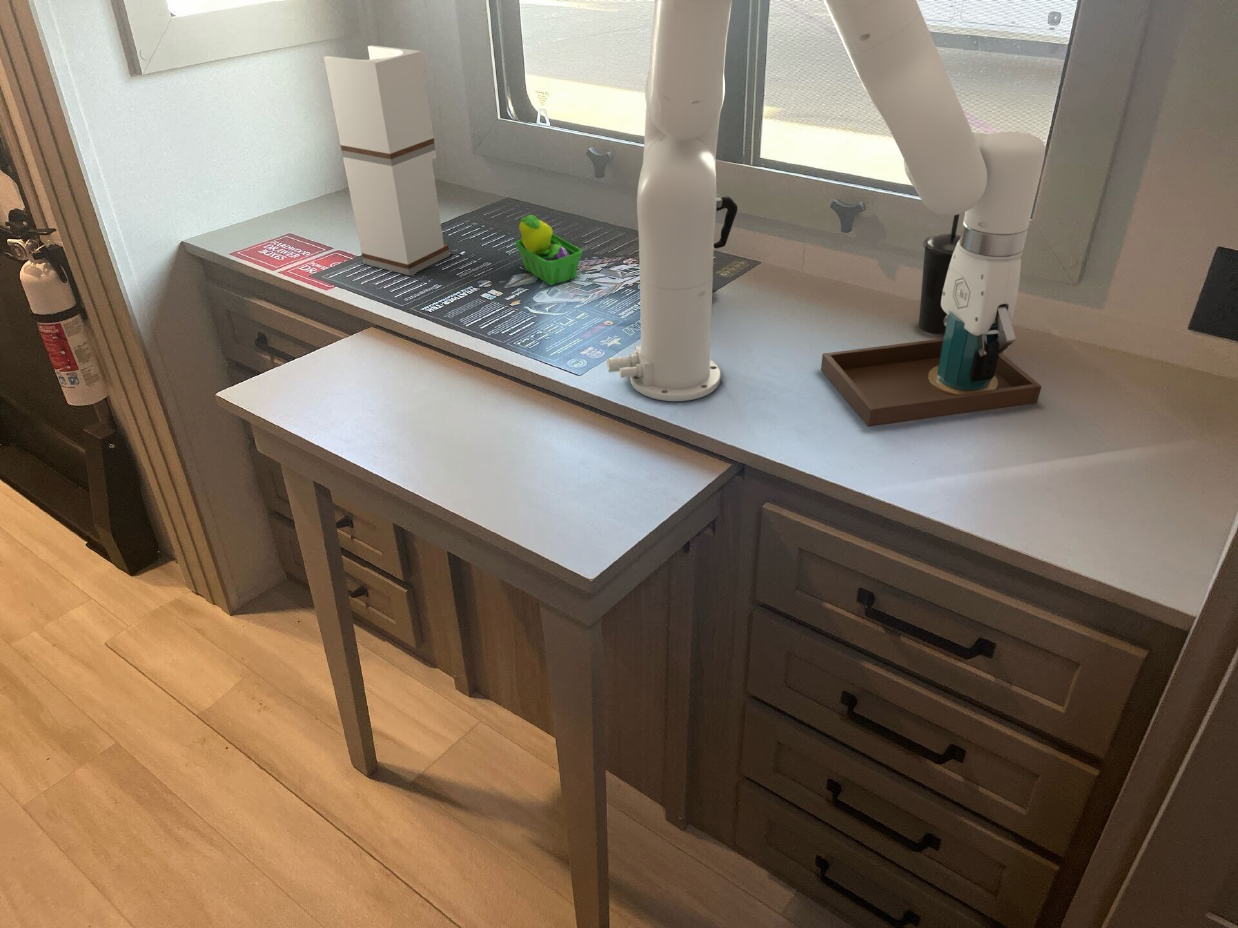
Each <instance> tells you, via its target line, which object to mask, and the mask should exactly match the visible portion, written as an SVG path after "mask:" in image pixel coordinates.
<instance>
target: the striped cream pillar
mask: <svg viewBox="0 0 1238 928" xmlns="http://www.w3.org/2000/svg"><path fill="white" fill-rule="evenodd" d="M367 50H368V51H367V52H368V56H369V57H368V58H369V59H358V58H357V59H356V58H348V57H341V56H340V57H339V56H332V55H325V56H323V61H324V66H325V71H326V76H327V81H328V87H329V92H330V98H331V102H332V103H331V104H332V108H333V114H334V119H335V124H336V128H337V134H338V138H339V144H340V150H341V155H342V159H343V164H344V170H345V174H346V180H347V186H348V191H349V196H350V201H351V206H352V212H353V217H354V221H355V227H356V233H357V237H358V243H359V249H360V253H361V259H362V264H364V265H368V266H371V267H375V268H379V269H381V270H386V271H390V272H395V273H397V274H402V275H406V276H413V275H414V274H417V273H418V272H420V271H422V270H424V269H426V268H429V267H430V266H432V265H434V264H436V263H438V262H440V261H441V260H444V259H446V258H449V257H450V255H451V254H450V248H449V244H446V243H445V242H444V236H443V230H442V222H441V214H440V208H439V207H440V206H439V201H438V195H437V194H438V193H437V185H436V178H435V172H434V166H433V165H434V164H433V160H435V159H437V152H436V145H435V137H434V132H433V131H434V130H433V122H432V116H431V107H430V99H429V94H428V93H429V91H428V86H427V78H426V71H425V64H424V55H423V51H422V50H416V49H407V48H398V47H392V46H391V47H390V46H382V45H381V46H380V45H368V46H367Z"/></svg>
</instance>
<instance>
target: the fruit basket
mask: <svg viewBox="0 0 1238 928" xmlns="http://www.w3.org/2000/svg"><path fill="white" fill-rule="evenodd" d="M518 229H519V232H520V239H518V240H516V241H515V242H514V244H515V246H516V249H518V252H519V256H520V258H521V261H522V263H523V266H524V269H525V270H526V271H528V272H530V273H531V274H532V275H533V276H535V277H537V278H539V279H540V280H541V281H543V282H545V283H546V284H547V285H550V286H553V285H555V284H560V283H564V282H567V281H569V280H574V279H576V278H577V272H578V268H579V265H580V260H581V257H582V253H583V249H581V248H579V247H578V246H576V245H574V244H572V243H571V242H569V241H566V240H565V239H564V238H561V237H560V236H558V235H557V234H554V233H553V232H554V231H553V228H552V227H551V225H549V224H548V223H546V222H544V221H543V220H540V219H539V218H538V217H537V216H535V215H534V214H528V215H526V216H525V217H524V216H523V217H522V218H521V219H520V223H519V225H518Z"/></svg>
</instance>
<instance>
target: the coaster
mask: <svg viewBox="0 0 1238 928" xmlns="http://www.w3.org/2000/svg"><path fill="white" fill-rule="evenodd" d="M937 372H938V366H936V367H934V368H932V369H931V370H930V372H929V375H928V378H929V381H930V383H931V384H932V385H933V386H935V387H936V388H938V389H939V390H941V391H944V392H946V393H949V394H952V395H957V394H965V393H972V392H979V391H987V390H994V389H997V387H998V380H997V378H996V377H995V376H994V377H993V378H992V379H991V381H990V384H989V385H988V386H987V387H986V388H984V389H981V390H977V391H963V390H957V389H953V388H950V387H948V386H946V385H944V384H943V383H941V382H940V381H939V380H938V378H937Z"/></svg>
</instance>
